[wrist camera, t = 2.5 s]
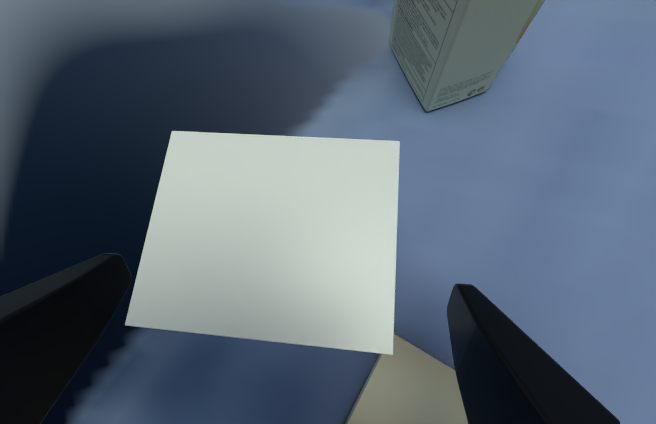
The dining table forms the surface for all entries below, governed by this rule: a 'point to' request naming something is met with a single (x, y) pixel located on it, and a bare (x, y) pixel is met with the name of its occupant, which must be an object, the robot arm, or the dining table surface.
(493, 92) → the dining table surface
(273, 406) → the dining table surface
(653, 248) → the dining table surface
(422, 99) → the skincare box
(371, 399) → the board
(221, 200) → the tall white cuboid
